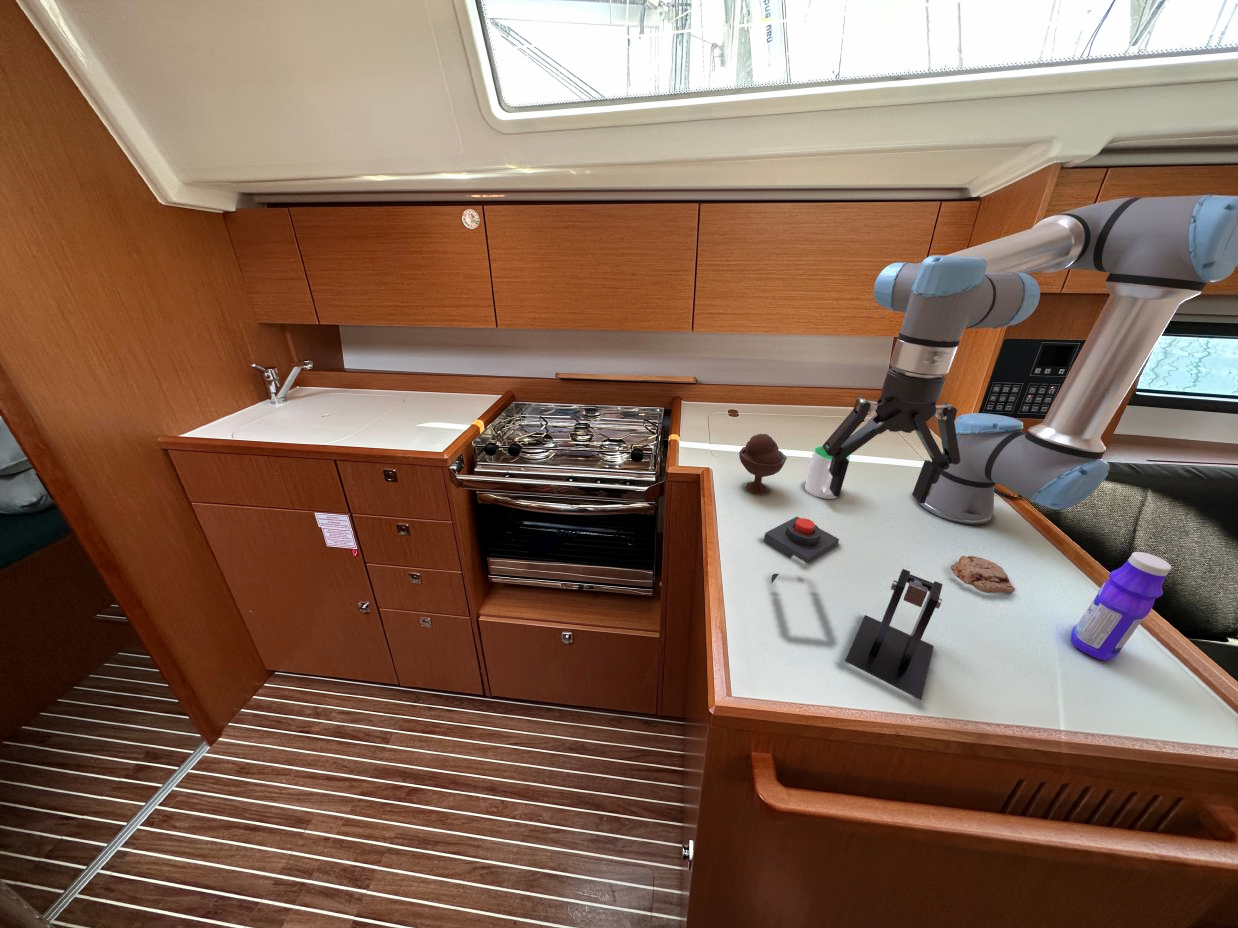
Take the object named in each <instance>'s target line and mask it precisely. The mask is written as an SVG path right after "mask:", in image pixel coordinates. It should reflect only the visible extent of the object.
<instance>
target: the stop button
mask: <svg viewBox="0 0 1238 928" xmlns="http://www.w3.org/2000/svg"><path fill="white" fill-rule="evenodd" d="M815 525H816V524H815V522H814V521H812V520H811V519H809V518H805V517H799V519H797V520H796V524H795V528H794V529H795V530H796V531H797V532H799V533H801V534H805V535H811V534H813V531H814V527H815Z"/></svg>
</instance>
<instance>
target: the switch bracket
mask: <svg viewBox="0 0 1238 928" xmlns="http://www.w3.org/2000/svg"><path fill="white" fill-rule="evenodd" d="M901 571H902V572H901ZM901 571H900V573H901V574H900V573H899V576H900V577H899V576H898V579H897V580H896V579H893V581H892V583H891V586H890V590H892V591H893V592H892V594H891V597H890V599H889V602H888V605H887V607H886V609H885V612H884V615H883V617H882V620H881V621H880V620H877V619H876V618H874V617H871V616H869V615H868V614H864V616H863V618H862V621H861V623H860V625H859V628H858V630H857V633H856V634H855V637H854V639H853V641H852V643H851V646H850V648H849V651H848V653H847V655H846V657H845V659H844V662H846V663H848V664H849V665H852V666H853V667H855V668H858V669H859V670H861V671H863V672H865V673H867V674H868V675H871V676H872V677H875V678H877V679H879V680H881V681H883V682H885V683H887V684H888V685H891V686H892V687H895V688H896V689H898V690H900V691H902V692H905V693H906V694H908V695H910V696H912V697H914V698H915V699H918V700H920V701H922V698H923V695H924V690H925V686H926V681H927V677H928V672H929V667H930V663H931V658H932V655H933V651H934V645H933V644H931V643H928V642H926V641H924V640H922V638H923V636H924V634H925V631H926V629H927V627H928V625H929V622H930V621H931V619H932V617H933V615H934V612H935V610H936V609H940V607H941V604H942V602H943V598H940V597H941V594H942V593H941V592H942V589H943V583H941V582H938V581H936V580H934V581H933V582H932V583H933V585H932V588H931V590H930V592H929V591H928V592H929V593H927V594H928V595H927V596H926V598H925V600H924V602H923V605H922V607H921V610H920V613H919V615H918V617H917V620H916V621H915V624H914V626H913V628H912V630H911V633H910V634H909V633H906V632H905V631H902V630H899V629H897V628H896V627H893V626H891V623H892V620H893V617H894V616H895V613H896V611H897V608H898V605H899V603H900V601H901V598H902V596H903V594H904V590H905V588H906V586H907V584H908V583H907V580H908V577H909V574H911V571H910V570H907V569H905V568H902V570H901Z"/></svg>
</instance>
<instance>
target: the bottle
mask: <svg viewBox="0 0 1238 928" xmlns="http://www.w3.org/2000/svg"><path fill="white" fill-rule="evenodd" d="M1171 570H1172V566H1171V564H1170V563H1169V562H1168V561H1166V560H1165V559H1163V558H1160V557H1159V556H1157V555H1153V554H1151V553H1147V552H1142V551H1134V552H1132V553H1131V555H1130V556H1129V558H1128V559H1127V560H1126V562H1125V563H1124V564H1123V565H1121V567H1119V568H1117V569H1115V570H1112V571H1110V572H1109V574H1108V577H1109V579H1108V580H1106V581H1104V583H1103V584H1102V585H1101V587H1099V589H1098V591H1097V594H1096V596H1095V597H1094V599H1093V600H1092V602H1091V603H1090V605H1089V606H1088V607H1087V609H1086V610H1085V612H1084V613H1083V614H1082V616H1081V617H1080V618H1079V620H1078V622H1077V623H1076V624H1075V625H1074V626H1073V627H1072V630H1071V634H1070V641H1071V643H1072V645H1073V646H1074V647H1075V648H1077V649H1078V650H1079V651H1081V652H1083V653H1085V654H1087V655H1089V656H1090V657H1093V658H1096V659H1098V660H1101V661H1109V660H1112V659H1115V658H1116V657H1117V656H1118V655H1119V654H1120V653H1121V651H1122V649H1123V647H1124V646H1125V645H1126V644H1127V642H1128V641H1129V640H1130V638H1131V636H1132V635H1133V634H1134V632H1135V631H1137V630H1136V629H1138V627H1139V626H1140V624H1141V623H1142V622H1143V620H1144V619H1145V618H1146V617H1147V616H1148V615H1149V614H1150V612H1151V610H1152V609H1153V606H1154V604H1155V600H1156V599H1157V598H1160V597H1162V596H1163V594H1164V591H1163V583H1164V581H1165V579H1166V578H1167V577H1166V576H1168V574H1169V572H1170V571H1171Z"/></svg>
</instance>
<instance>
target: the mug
mask: <svg viewBox="0 0 1238 928" xmlns="http://www.w3.org/2000/svg"><path fill="white" fill-rule="evenodd" d="M832 457H833V456H829V455H827V453H826V452H825V450H824V449H823V445H819V446H816V447H814V449H813V452H812V456H811V460H810V465H809V468H808V472H807V476H806V481H805V485H804V489H805V491H806V492H807V493H809V494H810V495H812V496H813V497H817V498H820V499H826V500H828V499H829V500H831V499H836V498H837V497H835V496H834V495H833V493H832V492H831V490H830V489H829V488H830V484H831V481H832V477H833V476H832V475H831V474H830V472H829V468H830V465H831V460H832ZM846 458H847V460H848V461H849V462H850V458H851V454H850V455H849V456H848V457H846Z"/></svg>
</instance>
